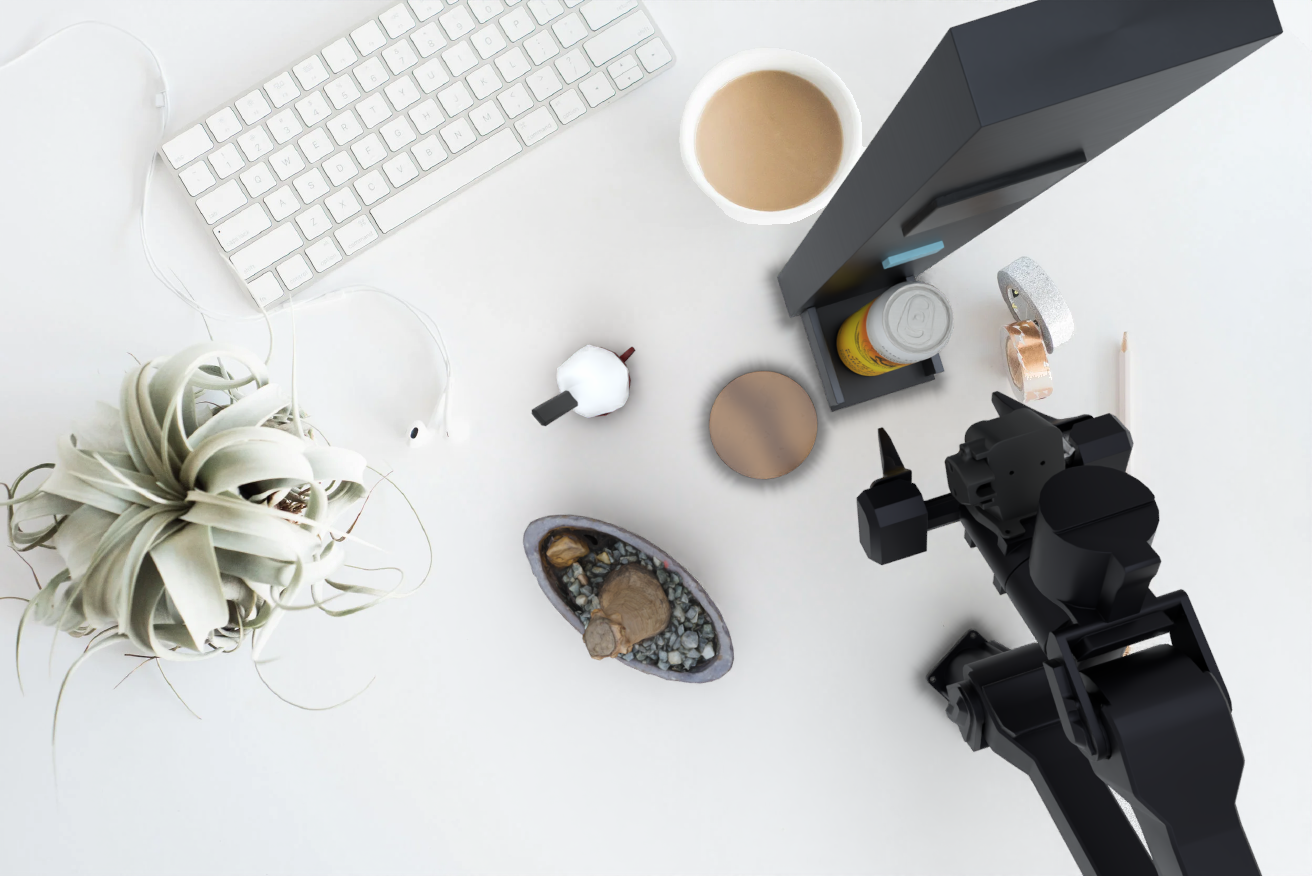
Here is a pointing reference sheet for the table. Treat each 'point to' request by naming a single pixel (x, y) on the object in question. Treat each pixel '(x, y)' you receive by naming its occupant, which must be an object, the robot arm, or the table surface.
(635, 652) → the planter
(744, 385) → the cork coaster
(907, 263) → the dispenser
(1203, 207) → the table surface
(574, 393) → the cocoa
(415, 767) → the table surface
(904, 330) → the beer can
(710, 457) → the table surface
